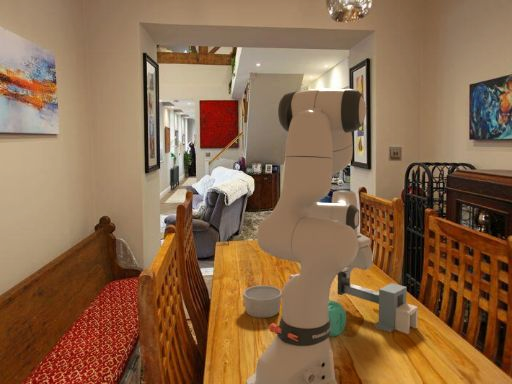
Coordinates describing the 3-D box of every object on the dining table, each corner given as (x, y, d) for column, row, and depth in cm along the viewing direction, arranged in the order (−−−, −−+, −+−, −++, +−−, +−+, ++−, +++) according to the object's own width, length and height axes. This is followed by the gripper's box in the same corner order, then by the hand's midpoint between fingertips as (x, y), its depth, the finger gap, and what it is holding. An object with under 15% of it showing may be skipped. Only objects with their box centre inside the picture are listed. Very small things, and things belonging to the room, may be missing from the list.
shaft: (390, 311, 117) (390, 285, 116) (337, 294, 131) (337, 271, 130) (398, 306, 120) (398, 281, 119) (346, 290, 134) (346, 268, 133)
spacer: (407, 334, 112) (408, 312, 112) (395, 329, 115) (395, 308, 115) (417, 327, 116) (417, 306, 115) (404, 323, 119) (405, 303, 118)
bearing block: (389, 332, 113) (390, 295, 112) (374, 327, 117) (375, 291, 116) (409, 320, 121) (410, 285, 120) (394, 315, 125) (395, 281, 124)
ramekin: (279, 321, 122) (278, 300, 122) (239, 318, 125) (238, 298, 124) (284, 305, 135) (284, 286, 134) (248, 302, 138) (247, 284, 137)
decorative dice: (333, 339, 110) (333, 313, 109) (309, 331, 115) (309, 306, 114) (346, 329, 116) (346, 304, 115) (323, 322, 121) (323, 298, 120)
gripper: (314, 234, 136) (314, 271, 137) (364, 243, 120) (364, 285, 122) (325, 231, 140) (325, 267, 141) (375, 240, 125) (374, 281, 126)
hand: (343, 276), depth 131 cm, fingers closed on shaft, 2 cm apart
